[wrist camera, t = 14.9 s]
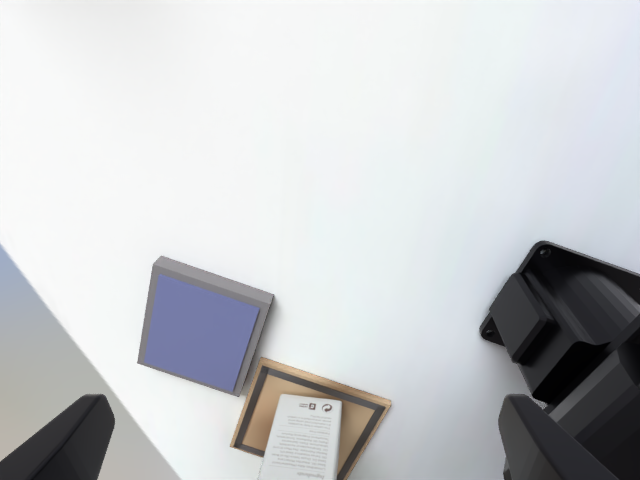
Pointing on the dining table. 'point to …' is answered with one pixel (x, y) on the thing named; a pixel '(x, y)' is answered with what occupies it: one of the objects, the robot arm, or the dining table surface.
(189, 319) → the ink pad
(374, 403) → the marked board
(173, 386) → the dining table surface
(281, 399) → the skincare box
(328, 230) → the dining table surface
